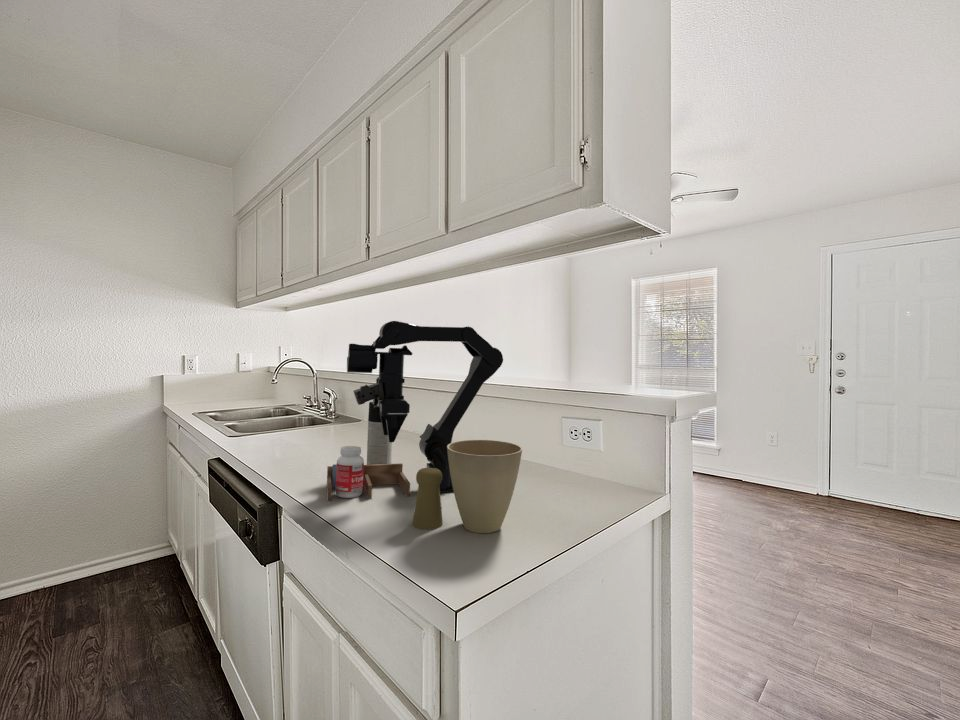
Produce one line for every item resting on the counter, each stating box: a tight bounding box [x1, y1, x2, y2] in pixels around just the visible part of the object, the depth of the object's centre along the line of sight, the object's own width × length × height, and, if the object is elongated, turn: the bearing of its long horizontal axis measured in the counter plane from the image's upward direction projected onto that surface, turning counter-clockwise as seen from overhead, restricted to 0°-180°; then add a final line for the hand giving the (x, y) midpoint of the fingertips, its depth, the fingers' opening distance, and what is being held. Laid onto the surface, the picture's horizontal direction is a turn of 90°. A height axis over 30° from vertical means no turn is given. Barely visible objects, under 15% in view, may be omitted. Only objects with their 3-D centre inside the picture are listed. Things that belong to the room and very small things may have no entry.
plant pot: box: [447, 439, 523, 534], centre depth 91 cm, size 15×15×16 cm
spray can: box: [366, 401, 393, 465], centre depth 126 cm, size 7×7×20 cm
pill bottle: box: [335, 445, 365, 499], centre depth 108 cm, size 6×6×11 cm
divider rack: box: [326, 463, 411, 502], centre depth 111 cm, size 18×12×6 cm, turn 109°
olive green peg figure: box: [411, 467, 443, 530], centre depth 92 cm, size 6×6×11 cm
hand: (388, 438), depth 111 cm, fingers open, 9 cm apart
